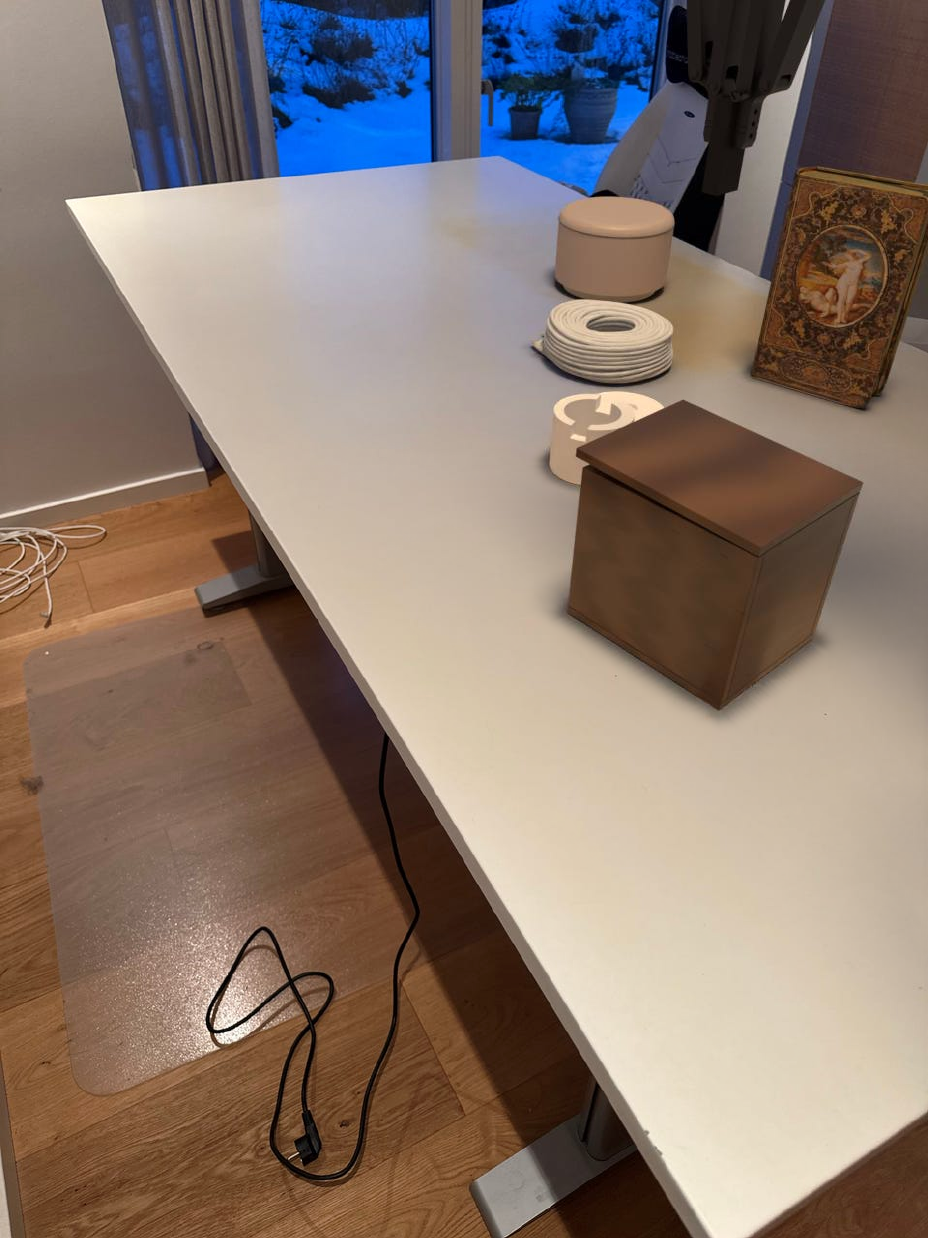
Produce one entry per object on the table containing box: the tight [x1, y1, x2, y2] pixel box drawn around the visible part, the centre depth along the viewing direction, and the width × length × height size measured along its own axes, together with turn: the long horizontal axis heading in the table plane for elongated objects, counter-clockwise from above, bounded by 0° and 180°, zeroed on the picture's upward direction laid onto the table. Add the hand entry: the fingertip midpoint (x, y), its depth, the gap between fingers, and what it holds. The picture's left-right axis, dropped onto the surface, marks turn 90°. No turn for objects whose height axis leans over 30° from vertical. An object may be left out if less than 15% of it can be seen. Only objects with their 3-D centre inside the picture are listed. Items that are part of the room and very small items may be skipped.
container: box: [554, 196, 676, 303], centre depth 146 cm, size 18×18×12 cm
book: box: [750, 165, 928, 409], centre depth 113 cm, size 16×6×25 cm, turn 51°
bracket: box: [549, 391, 665, 486], centre depth 105 cm, size 20×9×7 cm, turn 152°
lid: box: [576, 399, 864, 556], centre depth 72 cm, size 17×14×1 cm
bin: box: [567, 464, 861, 711], centre depth 77 cm, size 17×14×15 cm
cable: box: [530, 298, 674, 384], centre depth 125 cm, size 18×18×6 cm
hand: (719, 190), depth 73 cm, fingers closed
